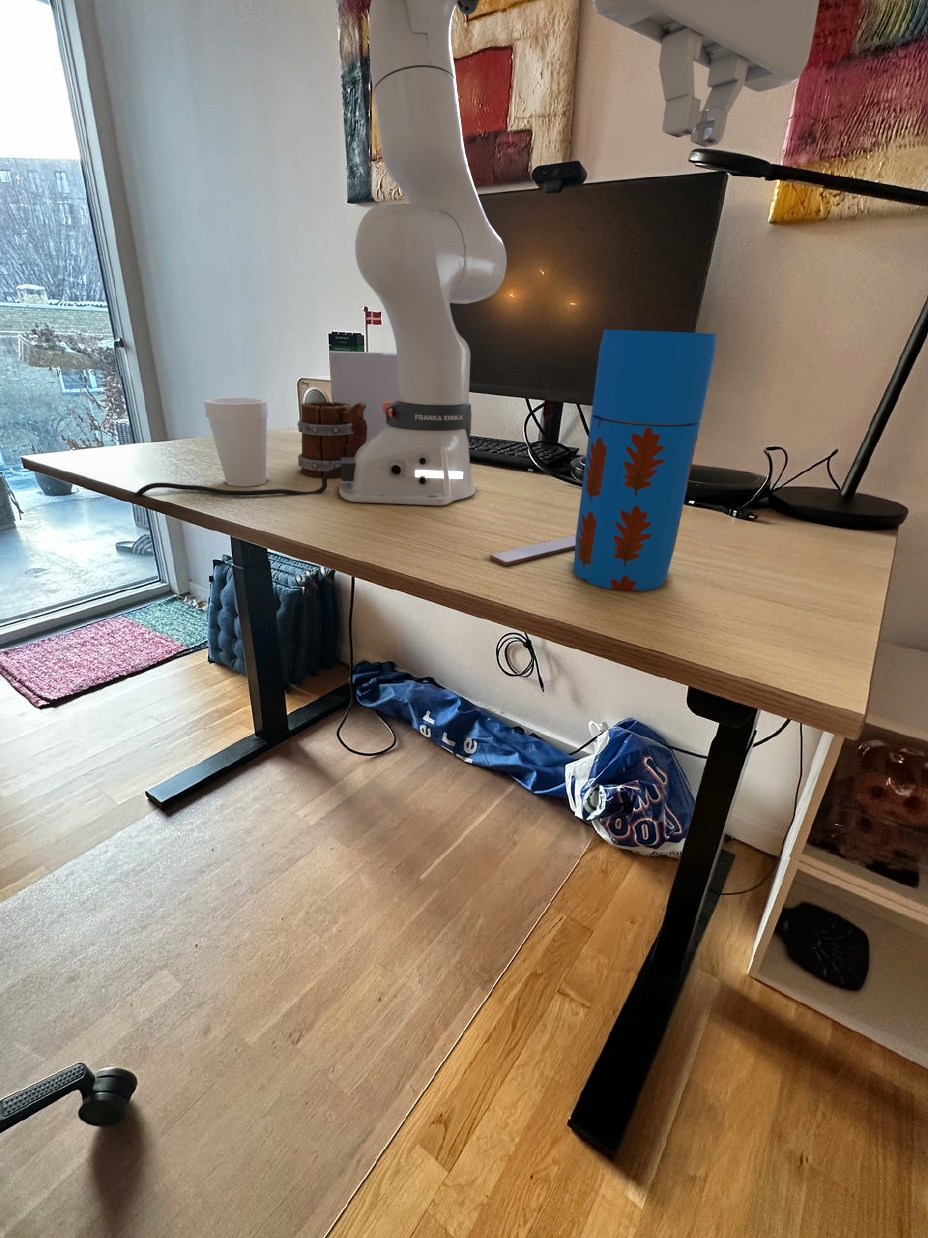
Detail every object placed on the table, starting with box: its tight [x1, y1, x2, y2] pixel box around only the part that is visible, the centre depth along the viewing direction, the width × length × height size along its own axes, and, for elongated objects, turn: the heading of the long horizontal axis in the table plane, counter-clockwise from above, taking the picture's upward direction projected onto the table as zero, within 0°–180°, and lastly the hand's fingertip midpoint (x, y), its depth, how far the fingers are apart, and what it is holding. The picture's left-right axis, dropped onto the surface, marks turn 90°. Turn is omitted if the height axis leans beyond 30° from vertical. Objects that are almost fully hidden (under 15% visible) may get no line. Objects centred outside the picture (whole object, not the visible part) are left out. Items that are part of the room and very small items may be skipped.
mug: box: [297, 401, 368, 479], centre depth 104 cm, size 12×14×15 cm
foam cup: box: [203, 397, 269, 487], centre depth 96 cm, size 10×9×13 cm
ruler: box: [489, 534, 576, 567], centre depth 77 cm, size 30×3×1 cm, turn 127°
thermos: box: [573, 329, 717, 592], centre depth 62 cm, size 11×11×25 cm
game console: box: [328, 350, 399, 442], centre depth 118 cm, size 6×27×20 cm, turn 106°
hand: (692, 138), depth 41 cm, fingers closed
